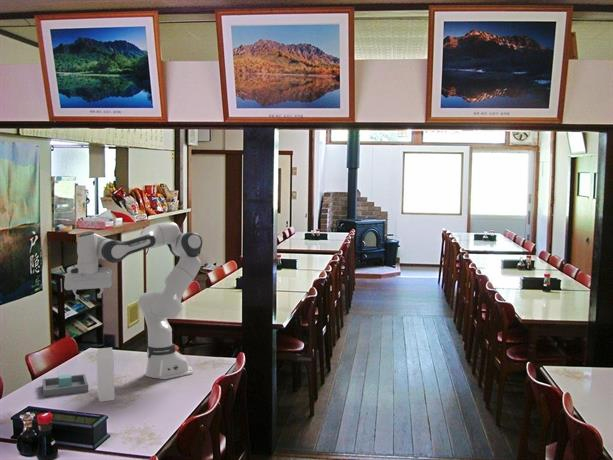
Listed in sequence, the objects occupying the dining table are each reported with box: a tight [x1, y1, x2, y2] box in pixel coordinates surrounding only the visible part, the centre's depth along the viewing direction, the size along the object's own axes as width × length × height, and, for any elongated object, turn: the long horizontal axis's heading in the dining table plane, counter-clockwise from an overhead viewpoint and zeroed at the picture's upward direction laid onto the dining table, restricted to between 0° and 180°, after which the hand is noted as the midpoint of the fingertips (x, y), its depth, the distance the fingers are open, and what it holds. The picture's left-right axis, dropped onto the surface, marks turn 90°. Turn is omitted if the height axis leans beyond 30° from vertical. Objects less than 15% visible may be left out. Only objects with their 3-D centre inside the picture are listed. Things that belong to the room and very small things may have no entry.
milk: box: [96, 347, 115, 403], centre depth 261 cm, size 6×6×22 cm
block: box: [58, 373, 72, 388], centre depth 273 cm, size 5×5×5 cm
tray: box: [42, 373, 89, 398], centre depth 273 cm, size 18×16×3 cm
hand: (88, 298), depth 278 cm, fingers open, 8 cm apart
